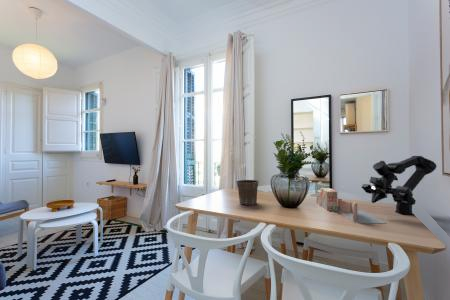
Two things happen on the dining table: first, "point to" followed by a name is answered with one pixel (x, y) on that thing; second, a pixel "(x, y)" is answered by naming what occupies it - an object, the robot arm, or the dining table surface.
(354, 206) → the fence panel
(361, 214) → the board
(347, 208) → the fixed fence section
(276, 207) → the dining table surface
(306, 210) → the dining table surface
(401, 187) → the robot arm
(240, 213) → the dining table surface
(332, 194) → the stack of blocks
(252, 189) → the plant pot
